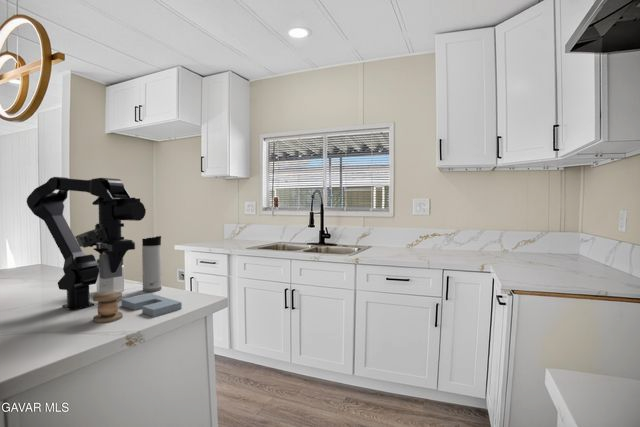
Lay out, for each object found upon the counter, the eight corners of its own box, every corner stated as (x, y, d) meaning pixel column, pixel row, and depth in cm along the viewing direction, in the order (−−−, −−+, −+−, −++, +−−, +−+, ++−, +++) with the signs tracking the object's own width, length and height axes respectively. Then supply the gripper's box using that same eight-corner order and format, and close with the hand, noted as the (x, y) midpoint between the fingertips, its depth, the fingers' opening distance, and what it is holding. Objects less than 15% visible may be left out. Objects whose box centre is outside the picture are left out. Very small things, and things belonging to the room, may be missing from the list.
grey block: (99, 277, 102) (99, 252, 102) (117, 274, 106) (117, 250, 106) (103, 279, 100) (103, 253, 100) (122, 276, 104) (121, 251, 104)
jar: (91, 295, 119) (91, 261, 118) (101, 289, 127) (100, 257, 126) (120, 294, 121) (119, 260, 120) (127, 288, 129) (127, 256, 128)
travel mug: (154, 292, 123) (154, 237, 122) (138, 291, 124) (138, 236, 123) (166, 288, 129) (165, 235, 128) (150, 287, 130) (150, 234, 130)
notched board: (121, 305, 108) (121, 299, 108) (149, 298, 115) (149, 292, 115) (153, 316, 98) (153, 309, 98) (181, 308, 105) (181, 302, 105)
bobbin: (88, 319, 95) (88, 295, 95) (115, 312, 101) (114, 290, 101) (100, 324, 91) (100, 300, 91) (127, 317, 97) (127, 294, 97)
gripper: (67, 220, 102) (68, 272, 102) (92, 222, 91) (93, 281, 91) (108, 218, 111) (108, 266, 111) (135, 220, 100) (136, 274, 100)
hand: (111, 271), depth 103 cm, fingers closed on grey block, 3 cm apart
